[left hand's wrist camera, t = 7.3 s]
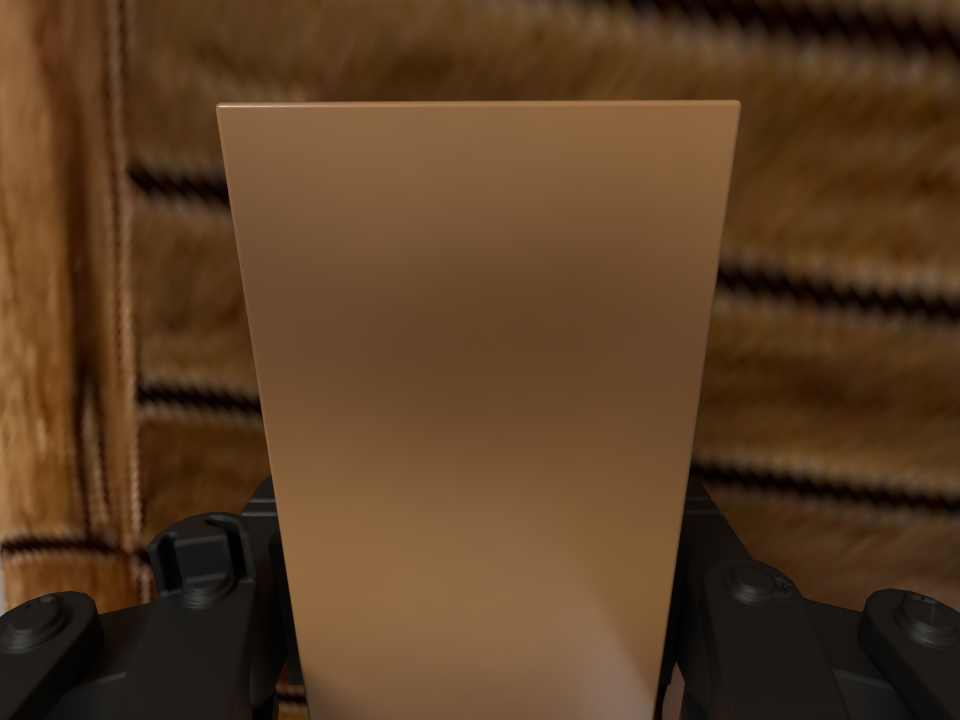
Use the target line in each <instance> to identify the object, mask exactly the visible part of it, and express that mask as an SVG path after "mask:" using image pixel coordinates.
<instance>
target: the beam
mask: <svg viewBox="0 0 960 720" xmlns="http://www.w3.org/2000/svg"><path fill="white" fill-rule="evenodd" d="M740 112H741V102H739V101H737V100H584V101H386V102H221V103H219V104H217V105H216V113H217V120H218V126H219V133H220V139H221V146H222V153H223V159H224V166H225V172H226V179H227V185H228V192H229V198H230V205H231V211H232V218H233V224H234V231H235V238H236V244H237V251H238V257H239V264H240V270H241V277H242V283H243V290H244V296H245V303H246V310H247V316H248V323H249V329H250V336H251V342H252V349H253V355H254V362H255V368H256V375H257V382H258V388H259V395H260V401H261V408H262V414H263V421H264V427H265V434H266V440H267V447H268V454H269V460H270V467H271V473H272V480H273V486H274V493H275V499H276V506H277V512H278V519H279V525H280V532H281V539H282V545H283V552H284V558H285V565H286V571H287V578H288V584H289V591H290V597H291V604H292V611H293V617H294V624H295V630H296V637H297V643H298V650H299V656H300V663H301V669H302V676H303V683H304V689H305V696H306V702H307V709H308V715H309V720H654V714H655V707H656V700H657V693H658V686H659V679H660V672H661V665H662V658H663V651H664V644H665V637H666V630H667V623H668V616H669V609H670V602H671V595H672V588H673V581H674V574H675V567H676V560H677V553H678V546H679V539H680V532H681V525H682V518H683V511H684V504H685V497H686V490H687V483H688V476H689V469H690V462H691V455H692V448H693V441H694V434H695V427H696V420H697V413H698V406H699V399H700V392H701V385H702V378H703V371H704V364H705V357H706V350H707V343H708V336H709V329H710V322H711V315H712V308H713V301H714V294H715V287H716V280H717V273H718V266H719V259H720V252H721V245H722V238H723V231H724V224H725V217H726V210H727V203H728V196H729V189H730V182H731V175H732V168H733V161H734V154H735V147H736V140H737V133H738V126H739V119H740Z"/></svg>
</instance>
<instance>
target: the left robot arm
mask: <svg viewBox="0 0 960 720" xmlns="http://www.w3.org/2000/svg"><path fill="white" fill-rule="evenodd" d="M147 549H148V553H149V557H150V561H151V565H152V569H153V573H154V577H155V581H156V585H157V589H158V593H159V596H158V598H157V600H156V601H153V602H149V603H146V604H143V605H139V606H134V607H130V608H126V609H121V610H117V611H112V612H108V613H104V614H99V615H98V611H97V608H96V605H95V601H94V600H93V599H92V598H90V597H89V596H88V595H87V594H86V593H80V592H74V591H66V592H58V593H51V594H48V595H45V596H41V597H38V598H35V599H32V600H29V601H27V602H25V603H23V604H21V605H19V606H17V607H16V608H14V609H12V610H10V611H8V612H6V613H5V614H3V615H2V616H1V617H0V720H278V713H279V706H278V698H277V692H276V684H277V681H278V679H279V676H280V673H281V671H282V668H283V666H284V663H285V660H286V664H287V670H288V677H289V683H290V685H304V683H303V676H302V669H301V663H300V656H299V650H298V643H297V637H296V630H295V624H294V617H293V611H292V604H291V597H290V591H289V584H288V578H287V571H286V565H285V558H284V552H283V545H282V539H281V532H280V525H279V519H278V512H277V506H276V499H275V493H274V486H273V480H272V476H270V477H269V478H267V479H266V480H265V481H263V482H262V483H261V484H260V485H259V487H258V488H257V489H256V491H255V492H254V494H253V495H252V497H251V498H250V503H247V504H246V506H245V507H244V509H243V510H242V512H241V516H239V515H235V514H231V513H227V512H212V513H205V514H200V515H196V516H192V517H188V518H186V519H184V520H181V521H179V522H177V523H174V524H172V525H171V526H169V527H168V528H166V529H165V530H163V531H162V532H160V533H159V534H158V535H156V537H155V538H154V539H153V540H152V542H151V543H150V544H149V545H148V547H147ZM675 659H676V662H677V664H678V667H679V669H680V672H681V675H682V677H683V680H684V682H685V686H684V692H683V698H682V704H681V710H680V716H679V720H960V613H959V612H957V611H956V610H954V609H953V608H951V607H949V606H947V605H945V604H943V603H941V602H939V601H937V600H935V599H933V598H930V597H927V596H925V595H921V594H918V593H915V592H912V591H906V590H898V589H885V590H879V591H875V592H874V593H873V594H872V595H870V596H869V597H868V598H867V600H866V603H865V607H864V610H863V612H859V611H854V610H850V609H846V608H841V607H837V606H832V605H828V604H823V603H819V602H816V601H812V600H809V599H806V598H803V597H802V595H801V593H800V592H799V590H798V589H797V587H796V586H795V584H794V583H793V581H791V580H790V579H789V578H788V577H786V576H785V575H784V574H783V573H781V572H780V571H779V570H777V569H775V568H773V567H771V566H769V565H767V564H765V563H763V562H761V561H757V560H753V559H752V558H751V556H750V555H749V553H748V552H747V550H746V549H745V547H744V546H743V544H742V543H741V541H740V540H739V538H738V537H737V535H736V534H735V532H734V531H733V529H732V528H731V527H730V525H729V524H728V522H727V521H726V519H725V518H724V516H723V515H722V514H720V510H719V509H718V507H717V506H716V504H715V503H714V501H711V497H710V495H709V494H708V492H707V491H706V489H705V488H704V486H703V485H702V484H701V482H700V481H699V480H697V479H696V478H694V477H693V476H692V475H690V474H689V476H688V483H687V490H686V497H685V504H684V511H683V518H682V525H681V532H680V539H679V546H678V553H677V560H676V567H675V574H674V581H673V588H672V595H671V602H670V609H669V616H668V623H667V630H666V637H665V644H664V651H663V658H662V665H661V672H660V679H659V685H671V680H672V673H673V667H674V661H675Z"/></svg>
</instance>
